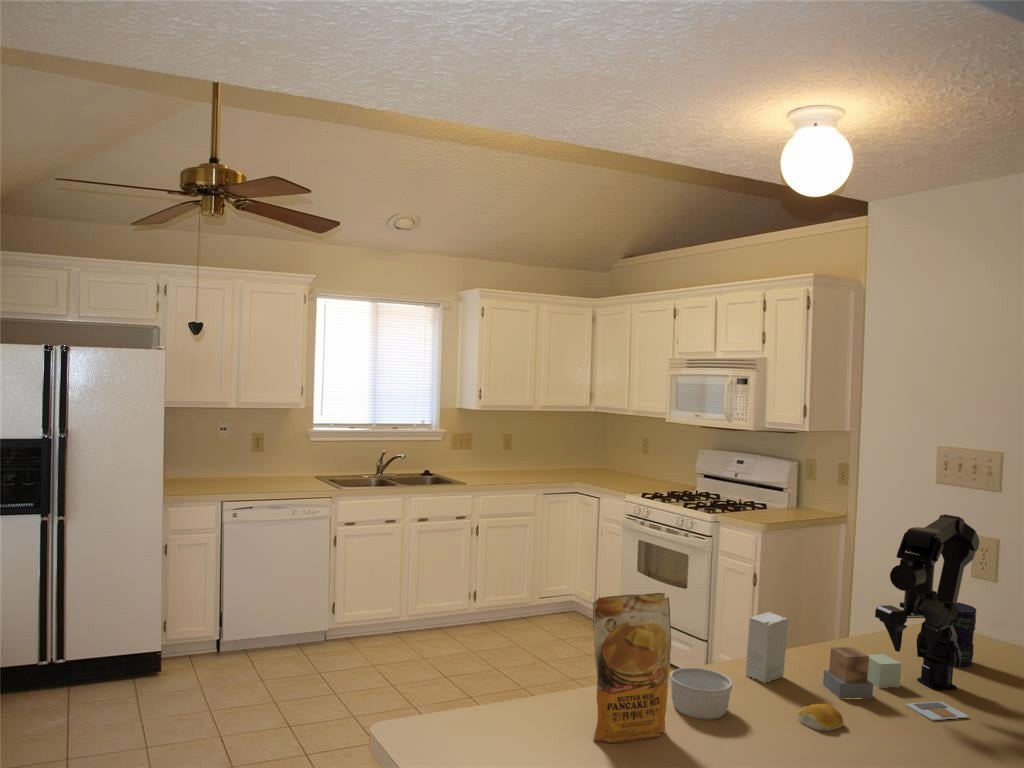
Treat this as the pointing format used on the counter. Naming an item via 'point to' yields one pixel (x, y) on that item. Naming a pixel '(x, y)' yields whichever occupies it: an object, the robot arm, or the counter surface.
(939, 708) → the card
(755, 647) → the skincare box
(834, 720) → the bread roll
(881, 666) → the sage cube
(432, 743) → the counter surface
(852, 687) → the charcoal block
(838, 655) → the walnut cube
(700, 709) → the ramekin
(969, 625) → the storage jar
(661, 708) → the pancake mix bag
